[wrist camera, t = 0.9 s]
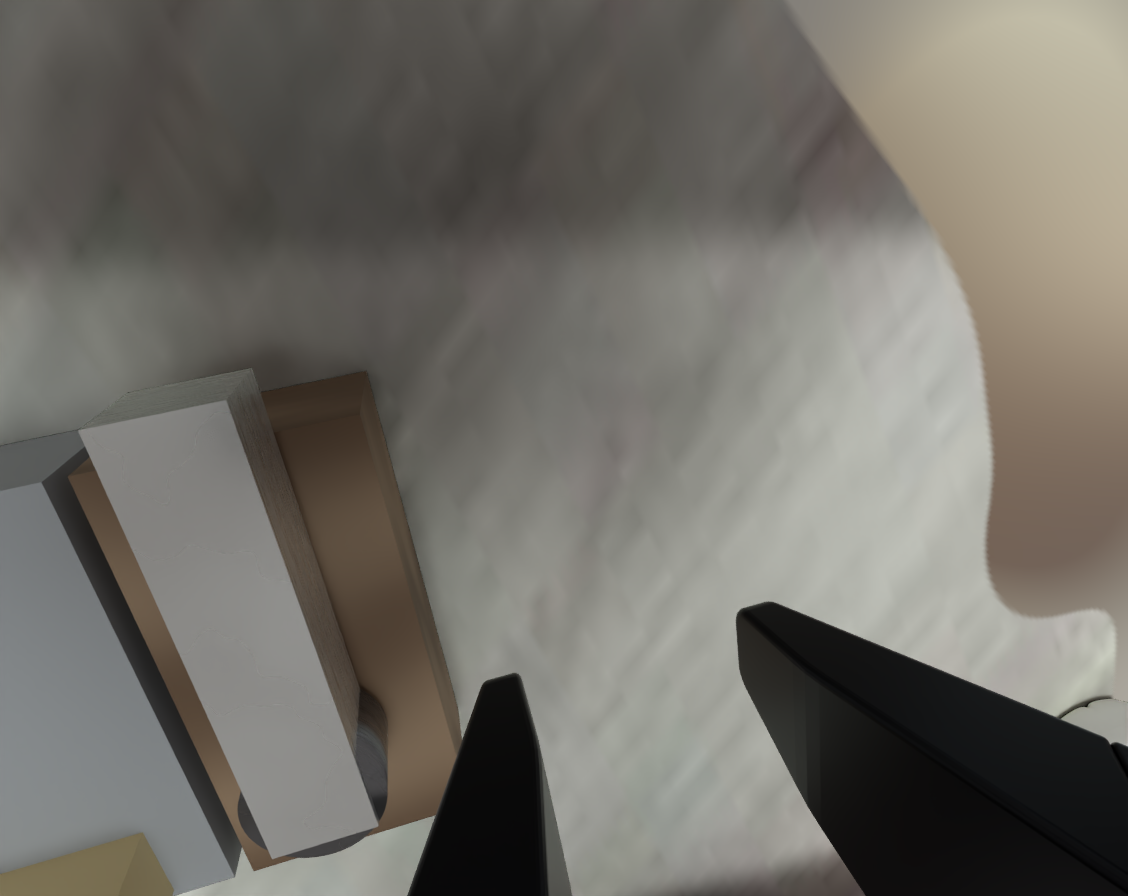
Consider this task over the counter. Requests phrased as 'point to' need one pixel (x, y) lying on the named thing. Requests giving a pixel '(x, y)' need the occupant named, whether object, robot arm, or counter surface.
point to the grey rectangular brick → (88, 712)
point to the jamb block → (354, 584)
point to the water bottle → (1103, 719)
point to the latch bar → (246, 607)
